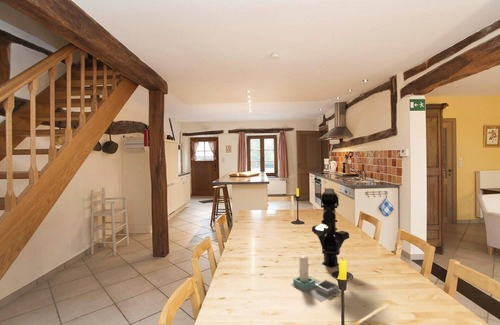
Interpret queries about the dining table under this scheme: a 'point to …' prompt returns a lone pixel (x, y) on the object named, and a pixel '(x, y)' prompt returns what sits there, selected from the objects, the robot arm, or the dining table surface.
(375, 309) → the dining table surface
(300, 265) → the plug
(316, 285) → the grey socket
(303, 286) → the teal socket
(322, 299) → the console board
